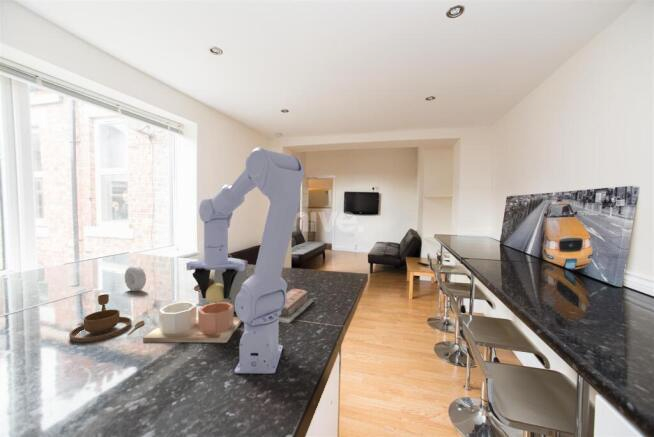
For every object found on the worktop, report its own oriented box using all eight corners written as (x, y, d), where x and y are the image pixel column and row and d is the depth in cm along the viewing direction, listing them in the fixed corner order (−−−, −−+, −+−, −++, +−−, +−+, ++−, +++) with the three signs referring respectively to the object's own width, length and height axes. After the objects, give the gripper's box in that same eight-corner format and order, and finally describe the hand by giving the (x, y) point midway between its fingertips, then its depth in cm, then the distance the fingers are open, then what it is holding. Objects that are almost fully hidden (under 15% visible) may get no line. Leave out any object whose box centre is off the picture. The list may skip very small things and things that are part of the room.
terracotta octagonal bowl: (225, 334, 62) (225, 314, 62) (193, 333, 62) (193, 314, 62) (236, 320, 70) (236, 302, 70) (208, 319, 70) (208, 302, 70)
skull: (195, 281, 106) (213, 263, 108) (214, 296, 108) (231, 278, 110) (187, 289, 95) (207, 268, 97) (209, 306, 97) (228, 285, 98)
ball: (221, 306, 64) (221, 286, 63) (202, 305, 64) (201, 286, 63) (229, 299, 69) (229, 281, 68) (211, 298, 69) (211, 280, 68)
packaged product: (288, 286, 91) (313, 289, 88) (287, 299, 91) (313, 303, 88) (258, 303, 74) (289, 308, 71) (258, 319, 74) (288, 325, 71)
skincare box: (211, 309, 80) (211, 260, 80) (230, 301, 87) (229, 256, 86) (230, 314, 76) (230, 263, 76) (248, 306, 83) (248, 259, 82)
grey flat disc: (122, 290, 97) (122, 264, 96) (132, 288, 100) (132, 263, 99) (138, 294, 93) (138, 267, 92) (148, 291, 96) (148, 265, 95)
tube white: (185, 333, 62) (184, 313, 62) (153, 333, 62) (153, 313, 62) (200, 319, 70) (200, 302, 70) (172, 319, 70) (172, 301, 70)
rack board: (226, 342, 60) (226, 338, 60) (143, 341, 60) (143, 337, 60) (242, 320, 72) (242, 316, 72) (173, 319, 72) (173, 315, 72)
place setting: (39, 348, 58) (38, 323, 57) (99, 313, 77) (99, 294, 77) (126, 341, 61) (126, 318, 61) (162, 309, 81) (162, 291, 80)
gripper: (248, 244, 70) (248, 292, 70) (196, 243, 70) (196, 291, 70) (239, 247, 63) (239, 301, 63) (181, 247, 62) (182, 301, 63)
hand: (216, 297), depth 66 cm, fingers closed on ball, 5 cm apart
